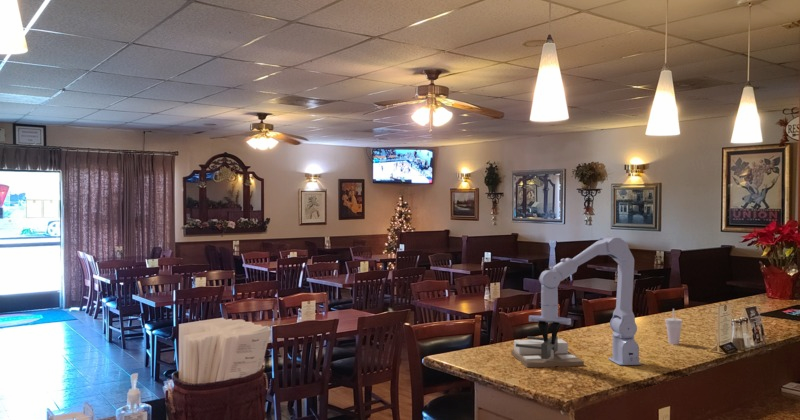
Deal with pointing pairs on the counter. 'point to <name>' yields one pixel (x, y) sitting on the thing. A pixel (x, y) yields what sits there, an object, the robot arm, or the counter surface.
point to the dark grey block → (543, 346)
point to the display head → (533, 359)
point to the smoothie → (673, 329)
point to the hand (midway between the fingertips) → (549, 343)
